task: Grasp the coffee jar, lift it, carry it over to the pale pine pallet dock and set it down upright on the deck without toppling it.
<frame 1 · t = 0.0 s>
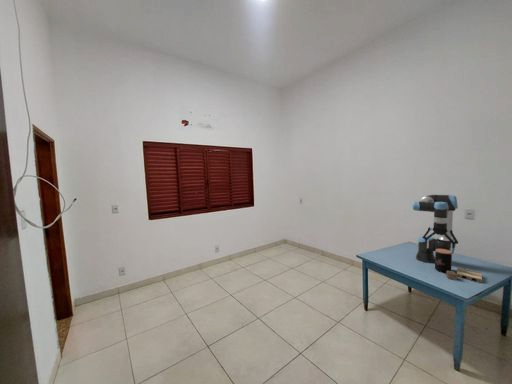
hand: (439, 249, 158), 28 cm above the table, fingers open, 13 cm apart
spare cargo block: (451, 278, 169), on the table
pallet dock: (468, 276, 170), on the table
coffee jar: (442, 270, 182), on the table
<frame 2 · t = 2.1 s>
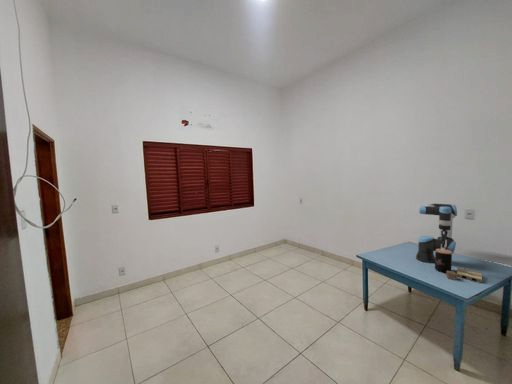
hand: (443, 248, 180), 20 cm above the table, fingers open, 13 cm apart
nothing on the table moved.
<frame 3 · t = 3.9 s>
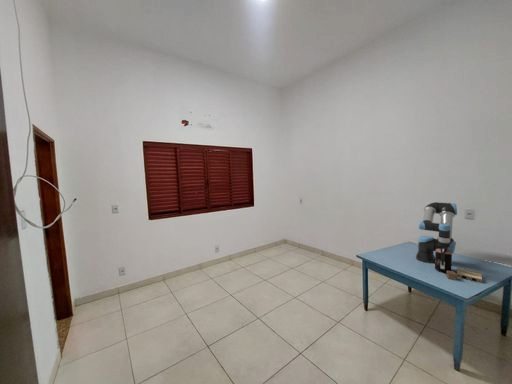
hand: (443, 266, 181), 4 cm above the table, fingers closed on coffee jar, 11 cm apart
coffee jar: (442, 270, 182), on the table, touching gripper
everything else where it was.
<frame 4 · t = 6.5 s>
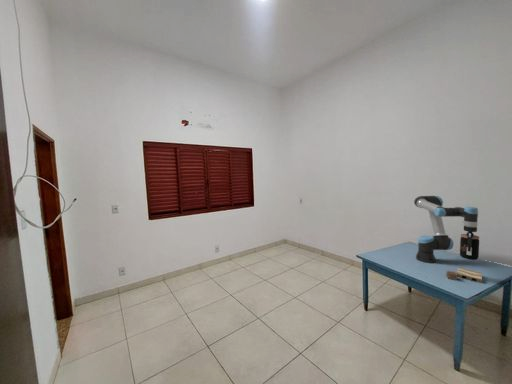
hand: (469, 252, 169), 20 cm above the table, fingers closed on coffee jar, 10 cm apart
coffee jar: (468, 257, 169), point 16 cm above the table, touching gripper
everything else where it was.
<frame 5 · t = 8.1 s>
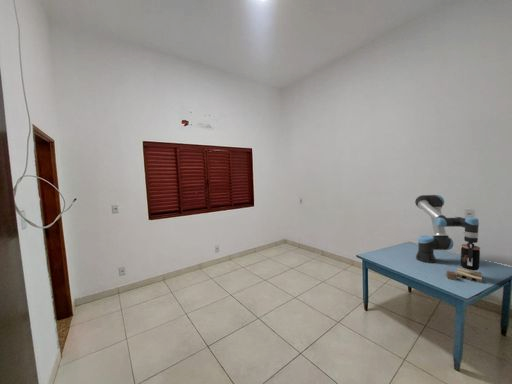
hand: (469, 263, 169), 12 cm above the table, fingers closed on coffee jar, 10 cm apart
coffee jar: (469, 268, 170), point 7 cm above the table, touching gripper
everything else where it was.
when the fingers open (8 cm above the table, at t = 9.4 s): coffee jar stays where it is, resting on pallet dock.
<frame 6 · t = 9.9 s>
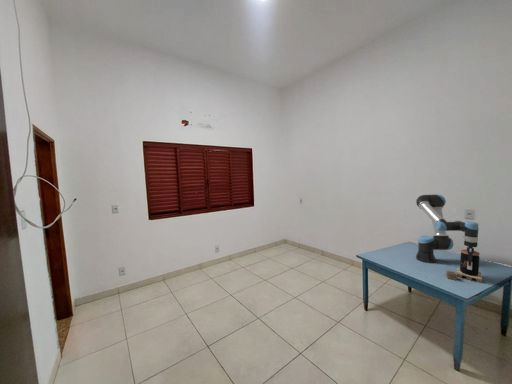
hand: (469, 266, 170), 9 cm above the table, fingers open, 13 cm apart
coffee jar: (468, 273, 170), point 3 cm above the table, touching pallet dock
everything else where it was.
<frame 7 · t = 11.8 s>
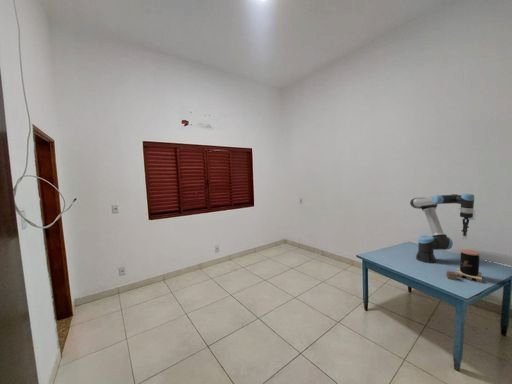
hand: (464, 237, 175), 31 cm above the table, fingers open, 13 cm apart
nothing on the table moved.
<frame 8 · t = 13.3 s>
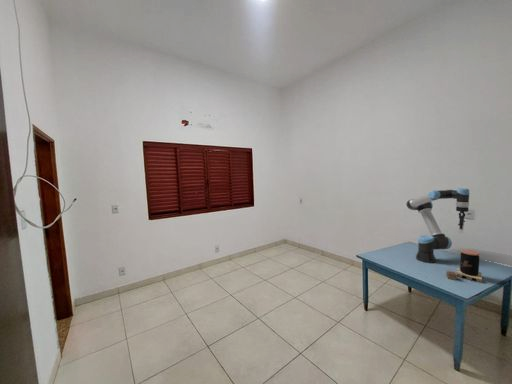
hand: (461, 230, 180), 35 cm above the table, fingers open, 13 cm apart
nothing on the table moved.
at the end: coffee jar inside the target area on the pallet dock (0.1 cm from its centre), point 2.8 cm above the pallet dock's base; coffee jar tilted 0°; the gripper is holding nothing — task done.
